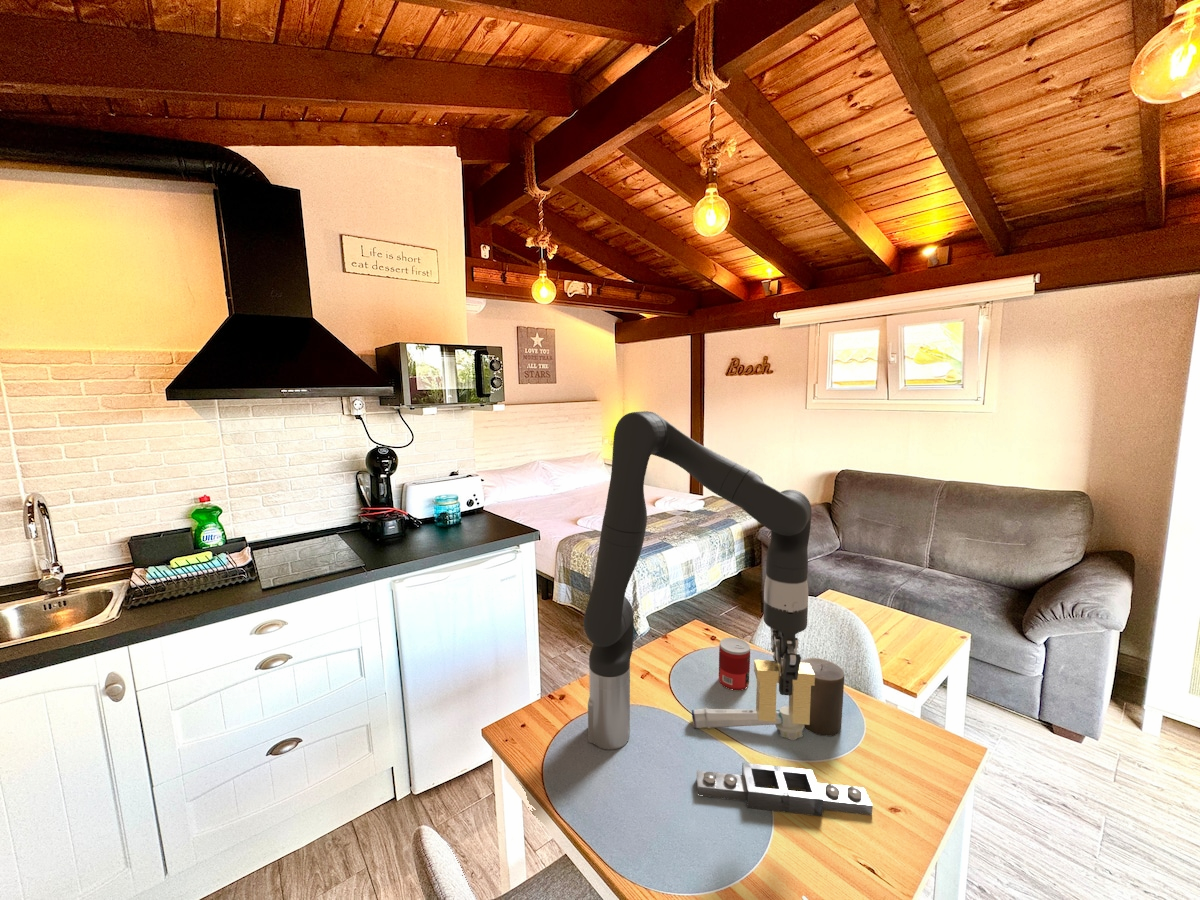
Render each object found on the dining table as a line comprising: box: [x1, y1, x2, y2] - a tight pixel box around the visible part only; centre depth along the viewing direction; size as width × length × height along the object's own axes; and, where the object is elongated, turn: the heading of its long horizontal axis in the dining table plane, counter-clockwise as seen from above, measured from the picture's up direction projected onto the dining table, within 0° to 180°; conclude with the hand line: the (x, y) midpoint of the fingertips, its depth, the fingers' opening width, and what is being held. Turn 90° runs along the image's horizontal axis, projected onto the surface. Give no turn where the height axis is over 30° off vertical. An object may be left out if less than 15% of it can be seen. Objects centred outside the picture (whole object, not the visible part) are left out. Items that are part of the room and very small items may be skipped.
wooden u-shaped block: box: [753, 659, 815, 725], centre depth 89 cm, size 10×4×10 cm, turn 81°
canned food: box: [718, 637, 751, 691], centre depth 128 cm, size 8×8×11 cm
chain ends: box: [696, 762, 874, 817], centre depth 92 cm, size 32×7×4 cm, turn 82°
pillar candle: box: [800, 657, 845, 737], centre depth 112 cm, size 10×10×15 cm
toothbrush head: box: [691, 705, 805, 741], centre depth 110 cm, size 5×7×25 cm
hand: (782, 686), depth 89 cm, fingers closed on wooden u-shaped block, 3 cm apart
